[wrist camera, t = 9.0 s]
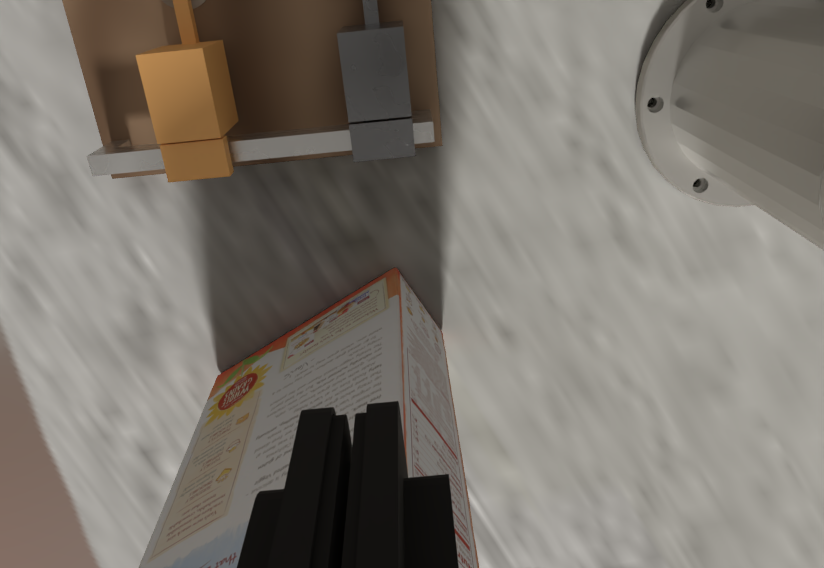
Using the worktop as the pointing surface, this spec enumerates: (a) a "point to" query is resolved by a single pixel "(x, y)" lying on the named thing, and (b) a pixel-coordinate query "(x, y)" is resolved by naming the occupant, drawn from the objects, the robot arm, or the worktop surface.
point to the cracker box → (310, 389)
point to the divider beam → (365, 134)
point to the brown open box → (244, 61)
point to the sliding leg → (190, 102)
